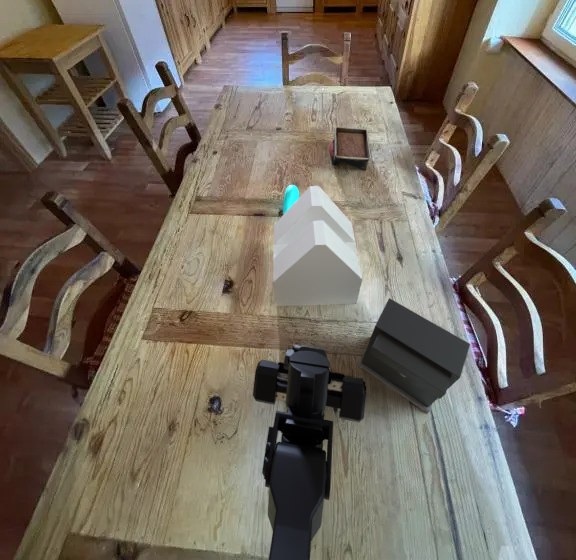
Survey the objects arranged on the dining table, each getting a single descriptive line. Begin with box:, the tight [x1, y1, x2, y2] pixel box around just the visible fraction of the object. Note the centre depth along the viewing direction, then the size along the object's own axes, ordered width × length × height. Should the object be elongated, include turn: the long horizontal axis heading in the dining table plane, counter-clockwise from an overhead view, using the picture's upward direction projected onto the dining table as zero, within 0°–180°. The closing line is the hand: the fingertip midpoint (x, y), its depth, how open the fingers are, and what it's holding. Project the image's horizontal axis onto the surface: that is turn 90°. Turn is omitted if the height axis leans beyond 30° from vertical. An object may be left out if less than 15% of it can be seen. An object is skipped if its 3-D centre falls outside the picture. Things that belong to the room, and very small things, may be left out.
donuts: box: [282, 184, 300, 216], centre depth 98 cm, size 10×10×10 cm
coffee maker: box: [357, 297, 471, 414], centre depth 63 cm, size 10×15×20 cm, turn 55°
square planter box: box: [328, 126, 373, 171], centre depth 116 cm, size 14×18×10 cm
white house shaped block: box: [272, 185, 363, 307], centre depth 78 cm, size 19×15×25 cm
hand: (312, 364), depth 66 cm, fingers closed on cork, 5 cm apart
